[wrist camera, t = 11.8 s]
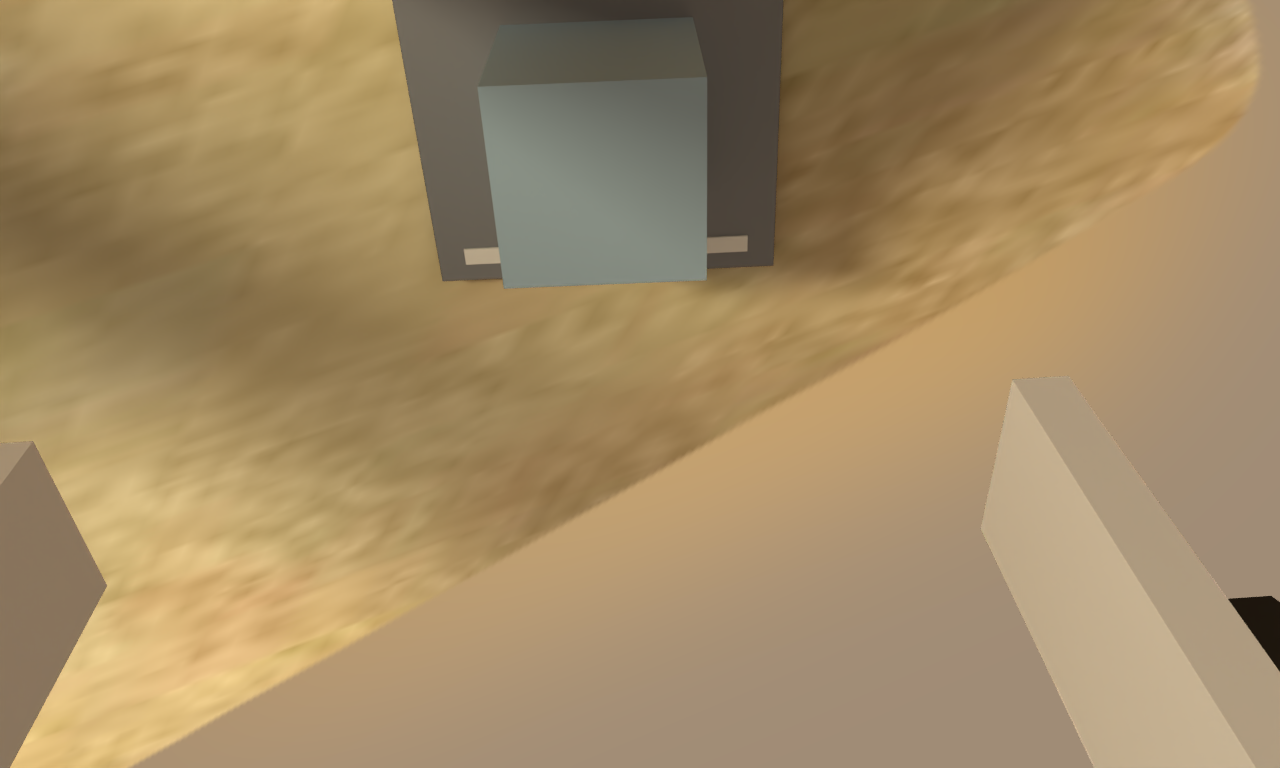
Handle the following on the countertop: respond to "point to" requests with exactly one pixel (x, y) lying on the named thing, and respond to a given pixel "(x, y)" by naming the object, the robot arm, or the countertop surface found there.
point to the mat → (479, 3)
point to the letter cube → (597, 152)
